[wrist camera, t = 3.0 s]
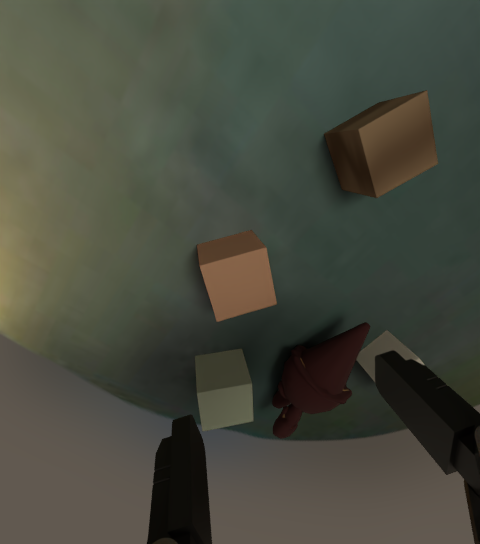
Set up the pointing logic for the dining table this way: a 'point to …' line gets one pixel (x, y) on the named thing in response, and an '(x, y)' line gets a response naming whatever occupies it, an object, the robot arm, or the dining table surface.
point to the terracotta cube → (236, 274)
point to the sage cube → (223, 389)
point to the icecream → (316, 378)
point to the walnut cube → (384, 145)
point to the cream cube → (381, 346)
